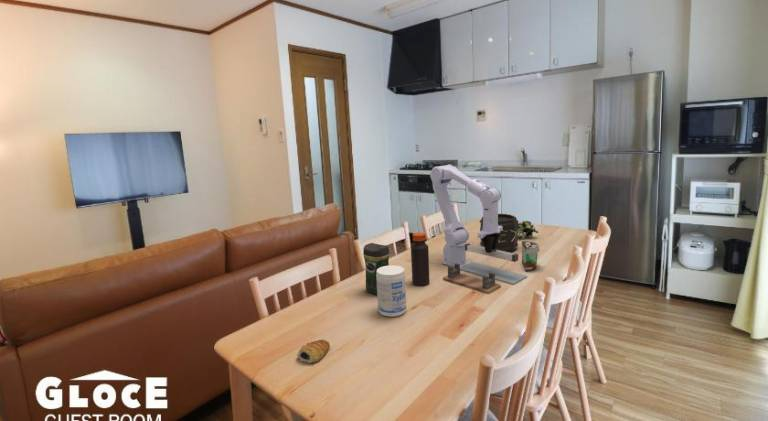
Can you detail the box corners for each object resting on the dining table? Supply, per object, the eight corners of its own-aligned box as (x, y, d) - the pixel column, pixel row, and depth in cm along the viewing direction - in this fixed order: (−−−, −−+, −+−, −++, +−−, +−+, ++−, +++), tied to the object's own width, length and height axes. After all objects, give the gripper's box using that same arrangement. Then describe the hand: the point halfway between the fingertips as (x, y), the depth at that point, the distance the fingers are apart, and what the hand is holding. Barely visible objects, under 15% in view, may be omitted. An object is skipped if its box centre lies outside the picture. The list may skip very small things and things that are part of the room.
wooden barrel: (478, 253, 184) (478, 221, 181) (480, 242, 201) (480, 213, 198) (518, 255, 179) (519, 222, 176) (517, 243, 196) (518, 213, 192)
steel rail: (464, 250, 165) (464, 244, 165) (468, 248, 167) (468, 243, 166) (514, 262, 148) (514, 255, 148) (518, 260, 150) (518, 254, 149)
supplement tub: (398, 320, 125) (396, 276, 122) (373, 314, 129) (370, 273, 126) (411, 307, 133) (409, 266, 130) (387, 302, 138) (384, 263, 135)
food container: (541, 272, 157) (542, 249, 155) (525, 272, 158) (526, 249, 156) (536, 262, 168) (536, 240, 166) (521, 262, 170) (521, 240, 168)
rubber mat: (457, 269, 166) (457, 268, 165) (471, 263, 172) (471, 261, 172) (513, 284, 147) (513, 283, 146) (527, 277, 153) (527, 275, 153)
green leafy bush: (527, 246, 208) (541, 229, 204) (522, 248, 199) (537, 230, 195) (510, 232, 212) (524, 215, 208) (504, 234, 203) (519, 216, 199)
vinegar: (409, 285, 152) (407, 235, 148) (416, 278, 158) (414, 231, 154) (425, 287, 149) (423, 237, 145) (432, 281, 155) (430, 232, 151)
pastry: (318, 343, 114) (317, 331, 113) (336, 349, 111) (335, 337, 110) (295, 360, 106) (294, 347, 106) (314, 367, 103) (313, 354, 102)
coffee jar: (395, 290, 148) (392, 243, 144) (381, 297, 142) (378, 249, 138) (376, 284, 154) (373, 239, 150) (362, 291, 148) (359, 245, 145)
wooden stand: (442, 279, 155) (442, 266, 154) (455, 274, 160) (455, 261, 159) (488, 294, 140) (488, 279, 139) (500, 287, 145) (500, 273, 144)
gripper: (488, 223, 147) (488, 258, 149) (509, 216, 156) (509, 248, 159) (473, 221, 152) (473, 254, 155) (493, 214, 161) (493, 245, 164)
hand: (490, 251), depth 157 cm, fingers closed on steel rail, 2 cm apart
